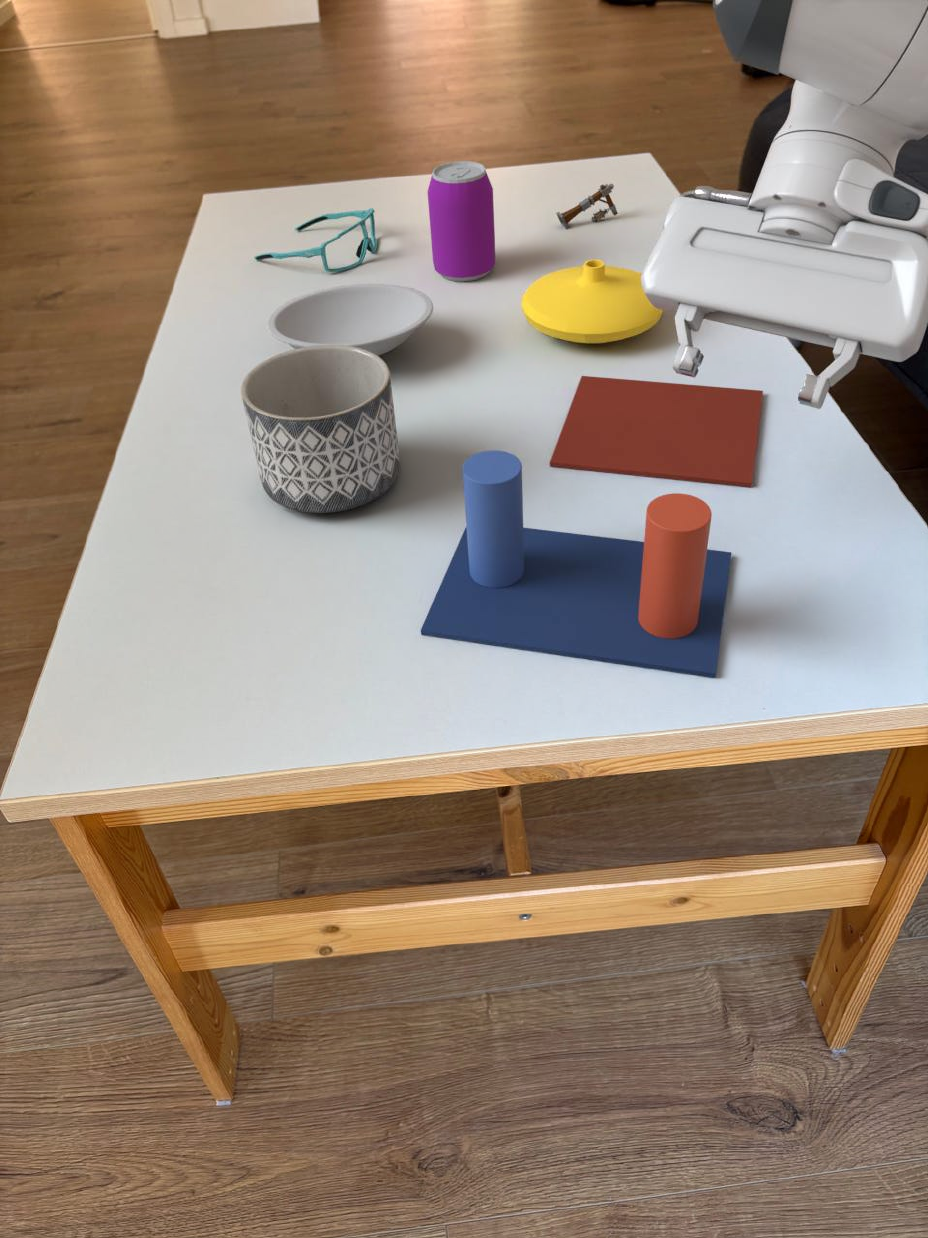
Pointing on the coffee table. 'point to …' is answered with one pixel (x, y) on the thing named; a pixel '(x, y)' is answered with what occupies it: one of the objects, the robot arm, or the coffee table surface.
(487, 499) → the blue peg
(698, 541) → the red peg
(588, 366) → the coffee table surface
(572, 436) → the red mat
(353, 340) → the dish
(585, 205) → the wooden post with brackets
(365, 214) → the sunglasses
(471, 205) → the beverage can
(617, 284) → the vase
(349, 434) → the planter
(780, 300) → the robot arm
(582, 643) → the blue mat
